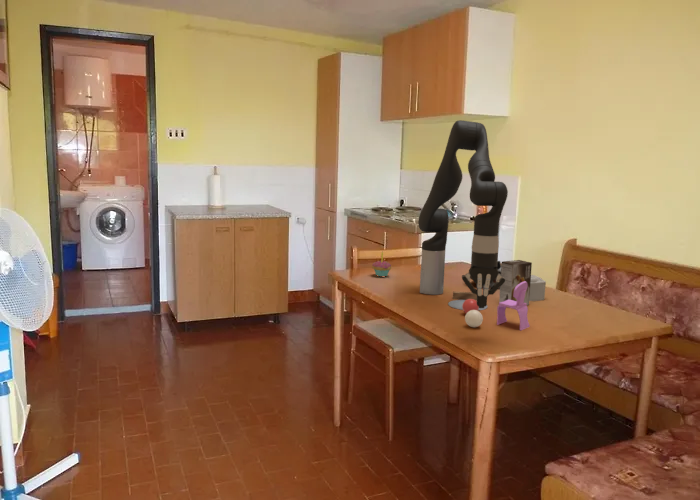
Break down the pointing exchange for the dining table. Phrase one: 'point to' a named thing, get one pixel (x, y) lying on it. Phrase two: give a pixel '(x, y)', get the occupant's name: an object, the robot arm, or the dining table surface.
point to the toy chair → (515, 306)
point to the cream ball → (473, 318)
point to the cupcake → (381, 267)
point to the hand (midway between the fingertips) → (481, 307)
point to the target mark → (460, 304)
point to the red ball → (470, 305)
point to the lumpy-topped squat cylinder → (537, 288)
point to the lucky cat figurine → (496, 277)
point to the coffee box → (514, 279)
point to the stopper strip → (464, 295)
